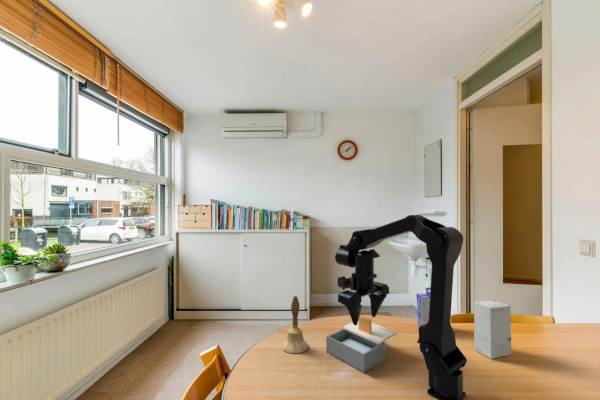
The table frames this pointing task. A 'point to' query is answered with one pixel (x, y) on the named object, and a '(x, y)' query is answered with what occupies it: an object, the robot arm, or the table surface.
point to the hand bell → (295, 333)
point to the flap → (370, 330)
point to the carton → (355, 350)
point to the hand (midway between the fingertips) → (364, 320)
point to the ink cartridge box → (423, 308)
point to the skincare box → (492, 328)
